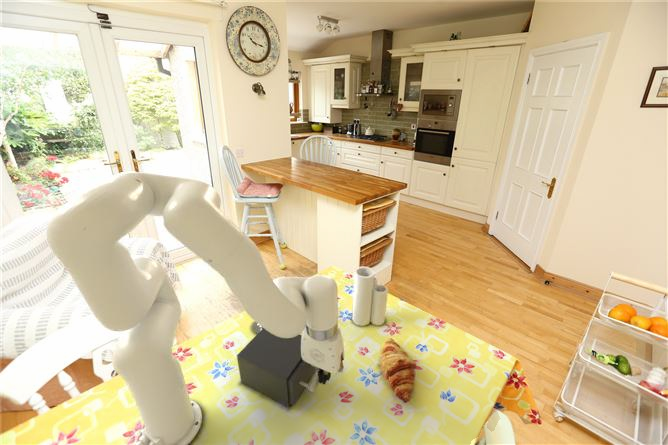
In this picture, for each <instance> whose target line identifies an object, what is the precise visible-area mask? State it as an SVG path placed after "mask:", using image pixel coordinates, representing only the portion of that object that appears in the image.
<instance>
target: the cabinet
mask: <svg viewBox="0 0 668 445" xmlns="http://www.w3.org/2000/svg"><path fill="white" fill-rule="evenodd" d="M301 338H302V334H301V333H300V334H299V335H297V336H295V337H293V338H281V337H277V336H275V335H273V334H271V333H270V332H268V331H267V330H266V329H264V328H263V329H262V330H261V331H260V332H259V333H258V334H257V333H256V335H254V337H253V338H252V339H251V340H250V341H249V342H248V343H247V344H246V345H245V346H244V347H243V348H242V349H241V350H240V351H239V352H238V353H237V355H236V359H237V366H238V371H239V379H240V383H241V384H242V385H244V386H246V387H247V388H250V389H251V390H253V391H255V392H258V393H259V394H261V395H263V396H264V397H267V398H269V399H270V400H272V401H275V402H276V403H278V404H280V405H282V406H284V407H286V408H288V409H289V408H290V407H291V405H292V404H290V399H289V385H288V379H289V377H290V376H291V374H292V373H293V372H294V370H295V369H296V367H297V366H298V364H299V363H300V362H301V360H302V356H301Z"/></svg>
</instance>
